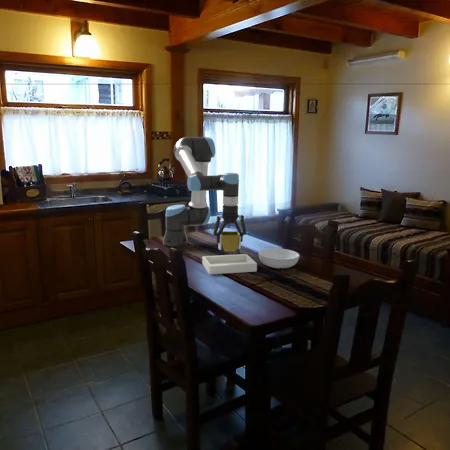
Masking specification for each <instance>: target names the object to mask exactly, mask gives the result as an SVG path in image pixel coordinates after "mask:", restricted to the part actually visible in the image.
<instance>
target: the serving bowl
mask: <svg viewBox="0 0 450 450" xmlns="http://www.w3.org/2000/svg"><path fill="white" fill-rule="evenodd" d="M258 258H259V260H260V262H261V263H262V264H263V265H265V266H267V267H270V268H273V269H280V268H281V269H288V268H291V267H294V266H295V265H296V264H297V263H298V261H299V259H300V254H299V253H298V252H297V251H294V250H291V249H287V248H286V249H285V248H276V247H275V248H273V247H272V248H271V247H270V248H269V247H268V248H264V249H261V250H259V251H258Z"/></svg>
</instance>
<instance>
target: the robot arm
mask: <svg viewBox="0 0 450 450" xmlns="http://www.w3.org/2000/svg"><path fill="white" fill-rule="evenodd" d="M173 155H174V156H175V159H176V160H177V161H179V163H180V165H181V167H182V168H183V170H184V172H185V174H186V176H187V180H186V181H187V182H186V185H187V189H188V190H189V191H191V197H190V201H189V202H188V206H186V205H185V204H174V205H173V204H172V205H170V206H167V208H166V209H165V233H164V236H163V238H162V244H163V246H166V245H167V246H166V247H175V248H177V247H178V248H179V247H183V246H187V245H188V244H189V239H188V236H187V233H186V227H194V226H195V227H196V226H197V227H200V226H204V225H207V224H208V223H209V222H210V219H211V208H210V207H209V206H208V203H207V202H206V199H207V198H206V197H207V196H206V195H207V191H209V192H210V191H211V192H212V191H223V192H222V204H223V205H222V214H221V215H216V219H215V220H216V221H215V224H214V229H213V233H212V235H214V237H216V243H217V244H218V251H221V250H222V240H221V233H222V231H224V230H225V228H226V226H227V225H228V224H229V225H230V224H234V226H235V228H236V230H237V231H238V234H239V240H238V246H237V248H238V249H239V250H241V247H242V246H241V245H242V242H243V240H244V236H245V235H247V230H246V226H245V225H246V224H245V216H244V215H243V214H239V205H238V204H239V187H240V186H239V185H240V183H239V182H240V175H239V174H238V173H235V172H225V173H224V174H217V175H216V174H215V175H208V173H209V172H208V170H209V169H208V168H209V164H210V163H211V162H212V158H213V159H214V158H215V155H216V146H215V142H214V140H213V139H212V137H207V136H183V137H182V138H179V139H178V140H177V141H176V142H175V144H174V147H173ZM238 219H239V223H240V225H241V228H240V226H239V224H238V222H237V220H238ZM221 220H223V221H222V223H221ZM220 223H221V226H220Z"/></svg>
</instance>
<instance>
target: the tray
mask: <svg viewBox="0 0 450 450" xmlns="http://www.w3.org/2000/svg"><path fill="white" fill-rule="evenodd" d="M201 259H202V260H201V262H202V266H203V267H204V268H205V270H206V271H207V273H208V275H219V274H220V275H221V274H235V273H237V274H238V273H249V272H250V273H251V272H252V273H253V272H257V270H258V263H257V262H256V261H255V260H254V259H252V258H251V257H250V256H249V255H248V254H247V253H243V254H224V255H204V256H202V258H201Z"/></svg>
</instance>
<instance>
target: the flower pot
mask: <svg viewBox="0 0 450 450" xmlns="http://www.w3.org/2000/svg"><path fill="white" fill-rule="evenodd" d="M239 235H240V234H239V232H238V230H237V231H234V230H229V231H228V230H227V231H226V230H225V231H224V230H223V231H222V233H221V235H220V236H221V247H222V249H223V252H232V253H233V252H236V250H237V248H238V240H239Z"/></svg>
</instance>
